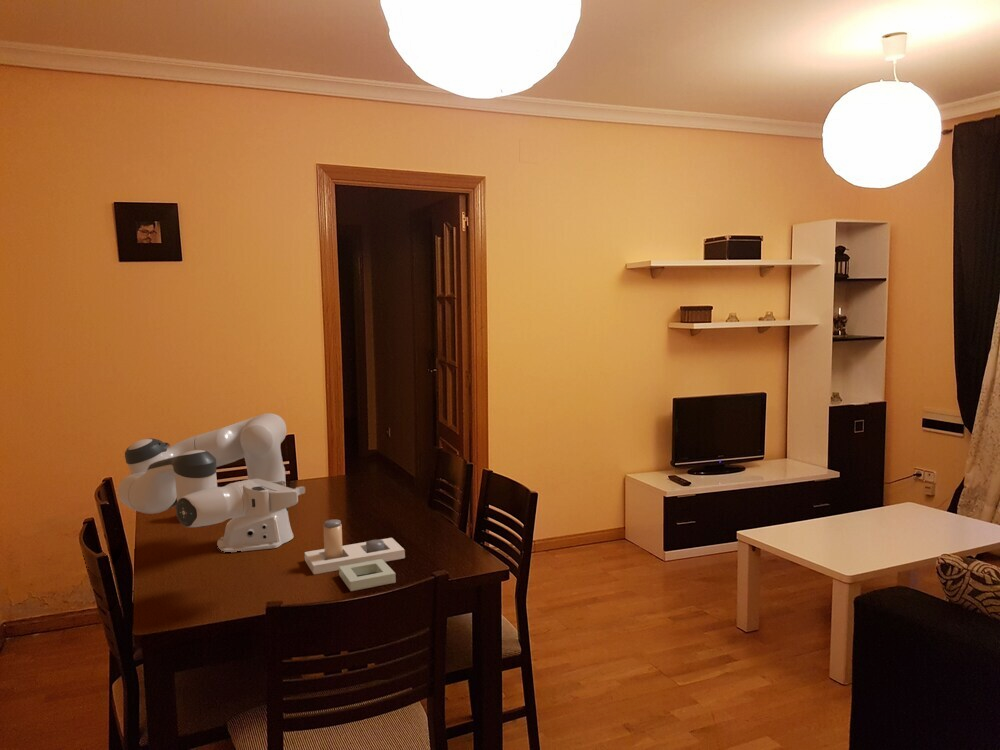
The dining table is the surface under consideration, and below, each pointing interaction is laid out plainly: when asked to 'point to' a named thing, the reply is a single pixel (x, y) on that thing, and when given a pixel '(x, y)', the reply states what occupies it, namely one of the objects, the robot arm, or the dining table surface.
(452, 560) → the dining table surface
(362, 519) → the dining table surface
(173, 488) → the robot arm
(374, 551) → the white rectangular tray
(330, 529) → the tan plug
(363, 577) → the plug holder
